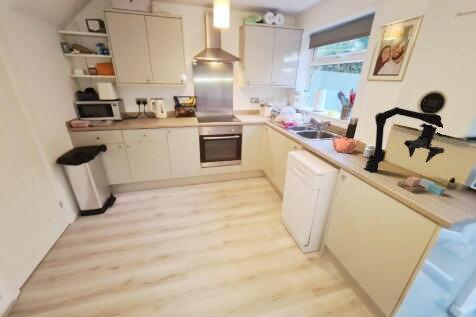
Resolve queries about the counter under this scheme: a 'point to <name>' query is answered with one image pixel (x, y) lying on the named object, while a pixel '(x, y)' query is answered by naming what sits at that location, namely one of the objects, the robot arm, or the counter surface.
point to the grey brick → (426, 183)
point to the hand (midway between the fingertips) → (418, 159)
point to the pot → (344, 145)
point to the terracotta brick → (413, 181)
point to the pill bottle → (368, 151)
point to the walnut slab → (411, 187)
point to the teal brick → (436, 189)
